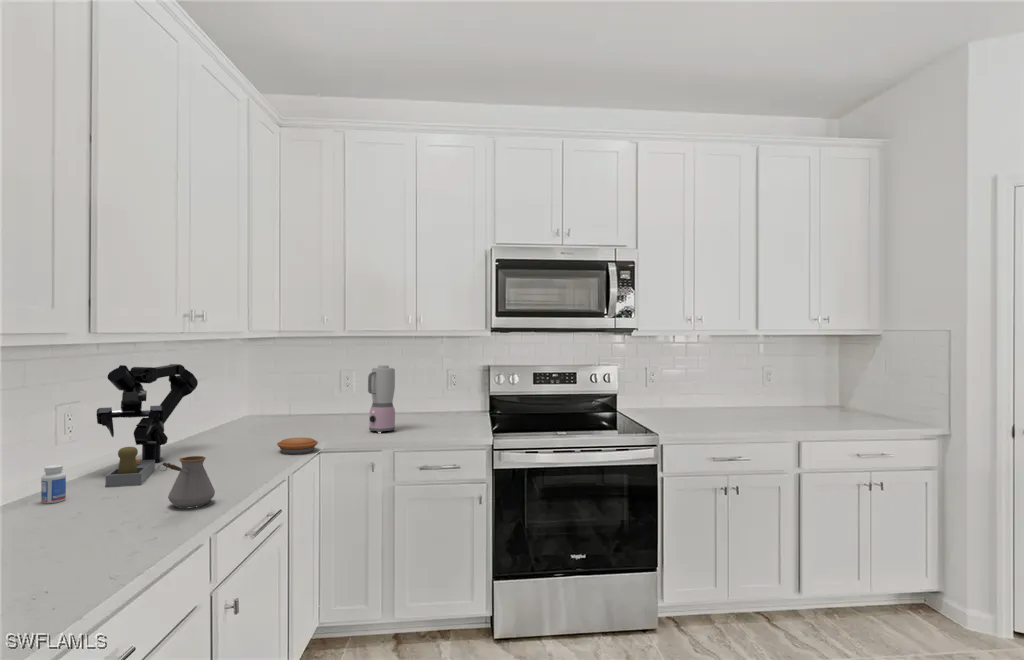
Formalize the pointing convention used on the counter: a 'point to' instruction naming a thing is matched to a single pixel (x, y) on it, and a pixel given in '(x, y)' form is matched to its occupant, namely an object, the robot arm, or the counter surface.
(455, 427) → the counter surface
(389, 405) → the blender
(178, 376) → the robot arm
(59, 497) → the pill bottle
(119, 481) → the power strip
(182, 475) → the coffee pot
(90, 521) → the counter surface
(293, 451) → the pie
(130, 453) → the cork
